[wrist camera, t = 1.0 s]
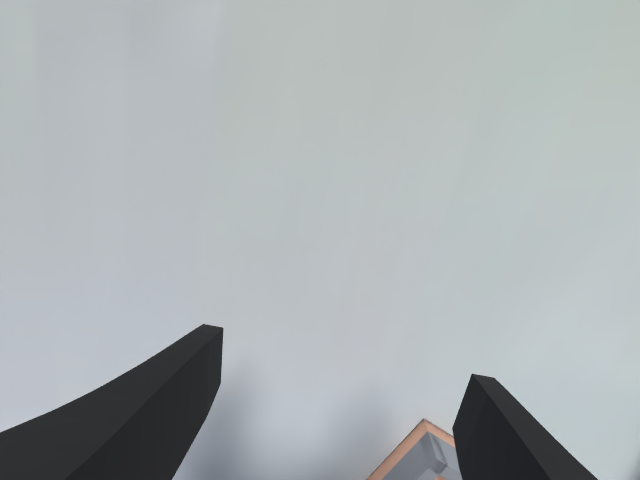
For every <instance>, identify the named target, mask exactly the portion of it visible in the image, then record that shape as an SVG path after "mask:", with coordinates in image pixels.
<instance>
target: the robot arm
mask: <svg viewBox="0 0 640 480" xmlns="http://www.w3.org/2000/svg"><path fill="white" fill-rule="evenodd" d="M222 344H223V328H222V327H216V326H211V325H205V324H203V325H201V326H199V327H198V328H196V329H195V330H193V331H192V332H190V333H189V334H187V335H185V336H184V337H182V338H181V339H179V340H178V341H176V342H175V343H173V344H172V345H170V346H169V347H167V348H166V349H164V350H162V351H161V352H159V353H158V354H156V355H155V356H153V357H151V358H150V359H148V360H147V361H145V362H143V363H142V364H140V365H138V366H137V367H135V368H133V369H131V370H130V371H128V372H126V373H124V374H123V375H121V376H119V377H117V378H116V379H114V380H112V381H110V382H109V383H107V384H105V385H103V386H101V387H100V388H98V389H96V390H94V391H92V392H90V393H88V394H86V395H84V396H82V397H80V398H78V399H76V400H74V401H72V402H70V403H67V404H65V405H63V406H61V407H59V408H57V409H55V410H53V411H50V412H48V413H46V414H44V415H41V416H39V417H36V418H34V419H32V420H29V421H27V422H25V423H22V424H20V425H17V426H15V427H13V428H10V429H8V430H6V431H3V432H1V433H0V480H172V478H173V477H174V475H175V473H176V471H177V469H178V468H179V466H180V464H181V462H182V461H183V459H184V457H185V455H186V453H187V452H188V450H189V448H190V446H191V444H192V443H193V441H194V439H195V437H196V435H197V434H198V432H199V430H200V428H201V426H202V425H203V423H204V421H205V419H206V417H207V415H208V413H209V410H210V408H211V406H212V403H213V401H214V398H215V396H216V393H217V391H218V389H219V386H220V384H221V365H222ZM452 429H453V435H454V442H455V448H456V454H457V459H458V465H459V469H460V473H461V477H462V480H598V479H597V478H596V477H595V476H593V475H592V474H591V473H590V472H589V471H588V470H587V469H586V468H585V467H584V466H583V465H582V464H580V463H579V462H578V461H577V460H576V459H575V458H574V457H573V456H572V455H571V454H570V453H569V452H568V451H567V450H566V449H565V448H564V447H563V446H562V445H561V444H560V443H559V442H558V441H557V440H556V439H555V438H554V437H553V436H552V435H551V434H550V433H549V432H548V431H547V430H546V429H545V428H544V427H543V426H542V425H541V424H540V423H539V422H538V421H537V420H536V419H535V418H534V417H533V416H532V415H531V414H530V413H529V412H528V411H527V410H526V409H525V408H524V407H523V406H522V405H521V404H520V403H519V402H518V401H517V400H516V399H515V398H514V397H513V396H512V395H511V394H510V393H509V392H508V391H507V390H506V389H505V388H504V387H503V386H502V385H501V384H500V383H499V382H498V381H497V380H496V379H495V378H492V377H487V376H481V375H476V374H472V375H471V378H470V381H469V383H468V386H467V389H466V392H465V395H464V397H463V400H462V403H461V406H460V409H459V411H458V414H457V417H456V420H455V423H454V425H453V428H452Z"/></svg>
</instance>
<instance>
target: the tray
mask: <svg viewBox="0 0 640 480" xmlns="http://www.w3.org/2000/svg"><path fill="white" fill-rule="evenodd" d="M367 480H462V477H461V473H460V469H459V465H458V459H457V454H456V448H455V442H454V437H453V436H451V435H450V434H448V433H446V432H445V431H443V430H442V429H440V428H438V427H437V426H435V425H433V424H432V423H430V422H429V421H427V420H425V419H423V420H422V421H421V422H420V423H419V424H418V425H417V426H416V428H415V429H414V430H413V431H412V432H411V433H410V434H409V435H408V436H407V437H406V438H405V439H404V440H403V441H402V443H401V444H400V445H399V446H398V447H397V448H396V449H395V450H394V451H393V452H392V453H391V454H390V455H389V456H388V457H387V459H386V460H385V461H384V462H383V463H382V464H381V465H380V466H379V467H378V468H377V469H376V470H375V471H374V472H373V474H372V475H371V476H370V477H369V478H368V479H367Z"/></svg>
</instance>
